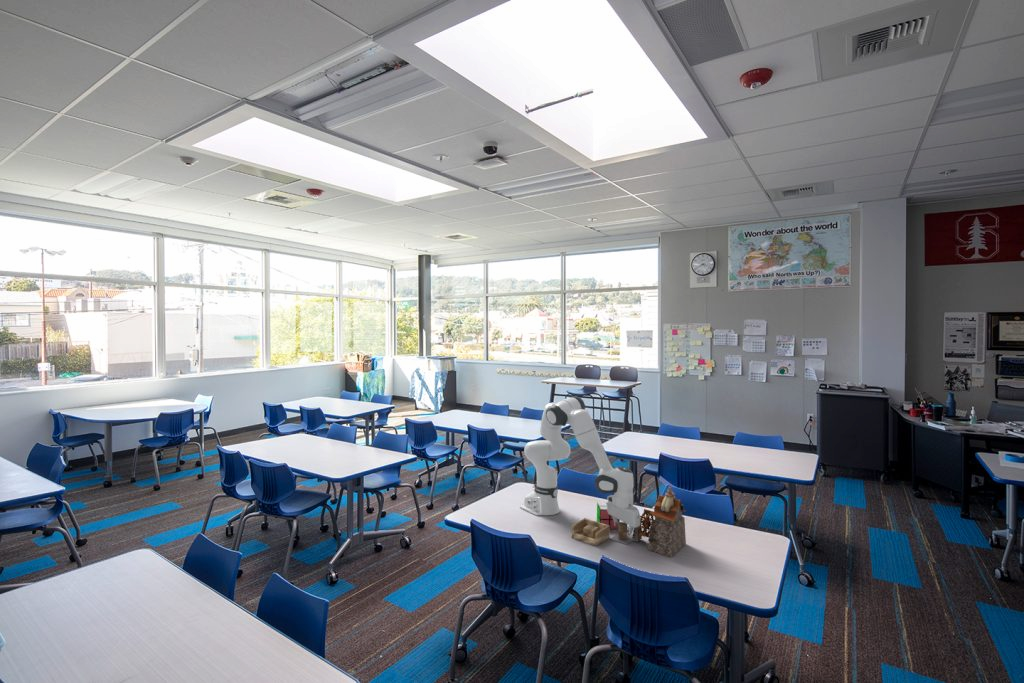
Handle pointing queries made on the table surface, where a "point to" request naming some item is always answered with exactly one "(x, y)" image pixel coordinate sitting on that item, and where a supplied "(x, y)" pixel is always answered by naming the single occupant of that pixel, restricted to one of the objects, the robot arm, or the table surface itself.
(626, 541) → the rubber mat
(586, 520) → the tan toy sofa
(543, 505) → the robot arm
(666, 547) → the miniature model
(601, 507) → the puzzle cube
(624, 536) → the walnut block
